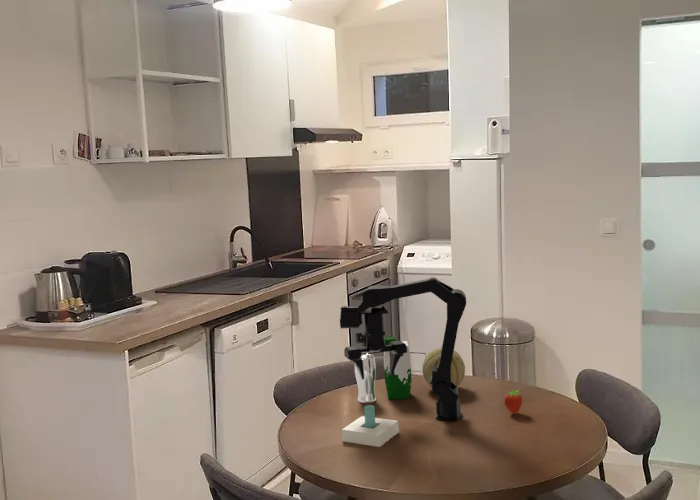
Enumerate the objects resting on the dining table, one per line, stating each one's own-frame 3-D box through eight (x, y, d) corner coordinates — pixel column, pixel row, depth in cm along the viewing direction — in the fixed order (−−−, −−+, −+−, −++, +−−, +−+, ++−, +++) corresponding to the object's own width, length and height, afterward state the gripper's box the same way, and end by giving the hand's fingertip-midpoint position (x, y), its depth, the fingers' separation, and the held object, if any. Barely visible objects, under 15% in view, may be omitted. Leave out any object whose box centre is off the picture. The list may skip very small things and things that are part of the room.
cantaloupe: (443, 380, 265) (441, 339, 263) (475, 389, 254) (473, 346, 252) (413, 390, 256) (411, 348, 254) (445, 399, 244) (443, 355, 243)
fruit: (517, 417, 224) (517, 392, 223) (502, 415, 227) (501, 389, 226) (525, 412, 228) (524, 387, 227) (509, 409, 231) (508, 384, 230)
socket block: (398, 432, 217) (398, 420, 217) (379, 447, 207) (379, 434, 206) (362, 427, 223) (362, 416, 223) (342, 441, 213) (341, 429, 212)
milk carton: (385, 392, 256) (382, 335, 253) (411, 391, 255) (408, 334, 253) (385, 400, 247) (382, 341, 245) (413, 399, 247) (410, 340, 244)
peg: (377, 435, 215) (376, 405, 214) (373, 439, 213) (371, 408, 212) (368, 434, 217) (367, 404, 216) (363, 437, 214) (362, 407, 213)
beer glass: (375, 403, 244) (373, 359, 242) (354, 403, 246) (352, 359, 244) (378, 397, 251) (376, 353, 249) (358, 396, 252) (356, 353, 251)
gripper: (394, 319, 237) (397, 367, 239) (338, 325, 232) (341, 374, 234) (406, 326, 226) (409, 376, 228) (347, 333, 222) (350, 383, 223)
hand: (377, 377), depth 229 cm, fingers open, 9 cm apart
